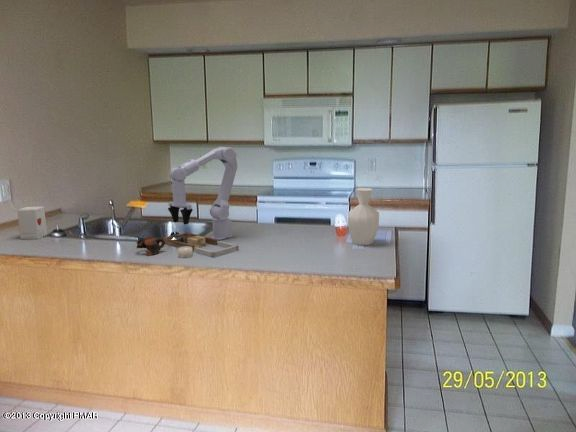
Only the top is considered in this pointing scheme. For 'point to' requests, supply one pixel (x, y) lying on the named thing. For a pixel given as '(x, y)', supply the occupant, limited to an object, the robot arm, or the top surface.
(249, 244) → the top surface
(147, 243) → the pottery mug
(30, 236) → the supplement box
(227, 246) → the grey corral
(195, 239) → the oak block
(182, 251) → the cream egg-shaped dome
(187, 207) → the robot arm
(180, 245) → the brown u-shaped frame
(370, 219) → the vase
